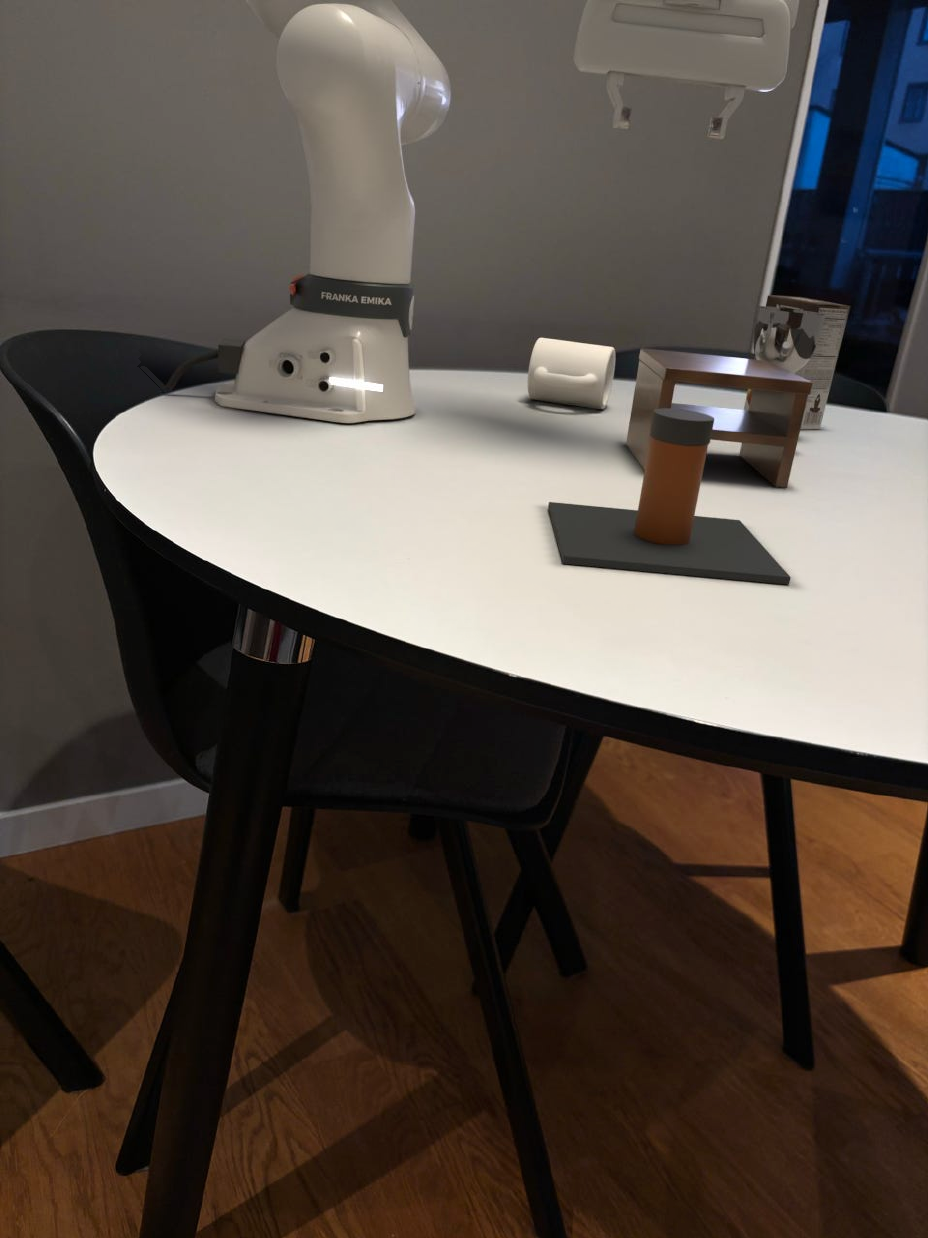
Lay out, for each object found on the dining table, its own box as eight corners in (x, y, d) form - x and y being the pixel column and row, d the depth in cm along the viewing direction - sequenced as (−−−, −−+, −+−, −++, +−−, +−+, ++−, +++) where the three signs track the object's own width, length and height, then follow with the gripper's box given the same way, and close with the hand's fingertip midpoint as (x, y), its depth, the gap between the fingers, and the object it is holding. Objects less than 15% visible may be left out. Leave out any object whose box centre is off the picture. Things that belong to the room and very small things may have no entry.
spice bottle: (637, 542, 72) (659, 417, 69) (628, 525, 76) (648, 405, 73) (696, 548, 73) (720, 423, 69) (684, 530, 77) (706, 411, 73)
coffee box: (739, 415, 135) (764, 293, 129) (772, 415, 138) (798, 296, 132) (789, 430, 128) (818, 302, 122) (823, 429, 131) (853, 304, 125)
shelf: (647, 475, 96) (666, 367, 92) (625, 443, 110) (640, 347, 106) (788, 489, 96) (813, 382, 92) (748, 455, 110) (768, 360, 106)
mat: (562, 563, 68) (563, 555, 68) (547, 508, 81) (548, 501, 81) (789, 585, 69) (791, 577, 68) (738, 526, 82) (739, 519, 81)
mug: (538, 394, 135) (545, 334, 132) (609, 405, 133) (618, 344, 130) (516, 407, 124) (524, 342, 121) (593, 418, 122) (603, 353, 119)
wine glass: (804, 436, 125) (832, 314, 119) (787, 444, 119) (816, 315, 113) (744, 424, 129) (768, 305, 123) (724, 431, 122) (749, 306, 117)
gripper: (793, -12, 94) (762, 146, 100) (583, -36, 94) (563, 124, 99) (814, -28, 89) (781, 141, 94) (590, -53, 88) (569, 119, 93)
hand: (667, 133), depth 96 cm, fingers open, 8 cm apart
